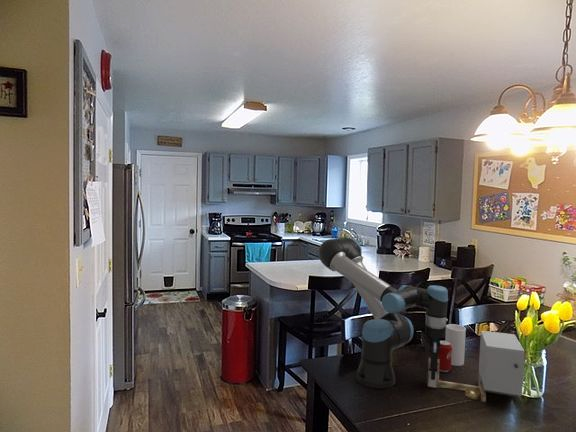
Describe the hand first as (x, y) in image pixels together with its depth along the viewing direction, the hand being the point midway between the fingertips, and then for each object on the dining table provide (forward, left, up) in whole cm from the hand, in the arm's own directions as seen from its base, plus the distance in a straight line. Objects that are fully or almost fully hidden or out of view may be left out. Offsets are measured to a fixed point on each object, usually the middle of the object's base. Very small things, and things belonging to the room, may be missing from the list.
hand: (432, 383), depth 165 cm
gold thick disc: (+14, -4, -1) cm, 15 cm away
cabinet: (+23, 0, 0) cm, 24 cm away
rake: (+8, -3, 0) cm, 9 cm away
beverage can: (+4, +17, -1) cm, 17 cm away
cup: (+9, +28, -1) cm, 29 cm away
